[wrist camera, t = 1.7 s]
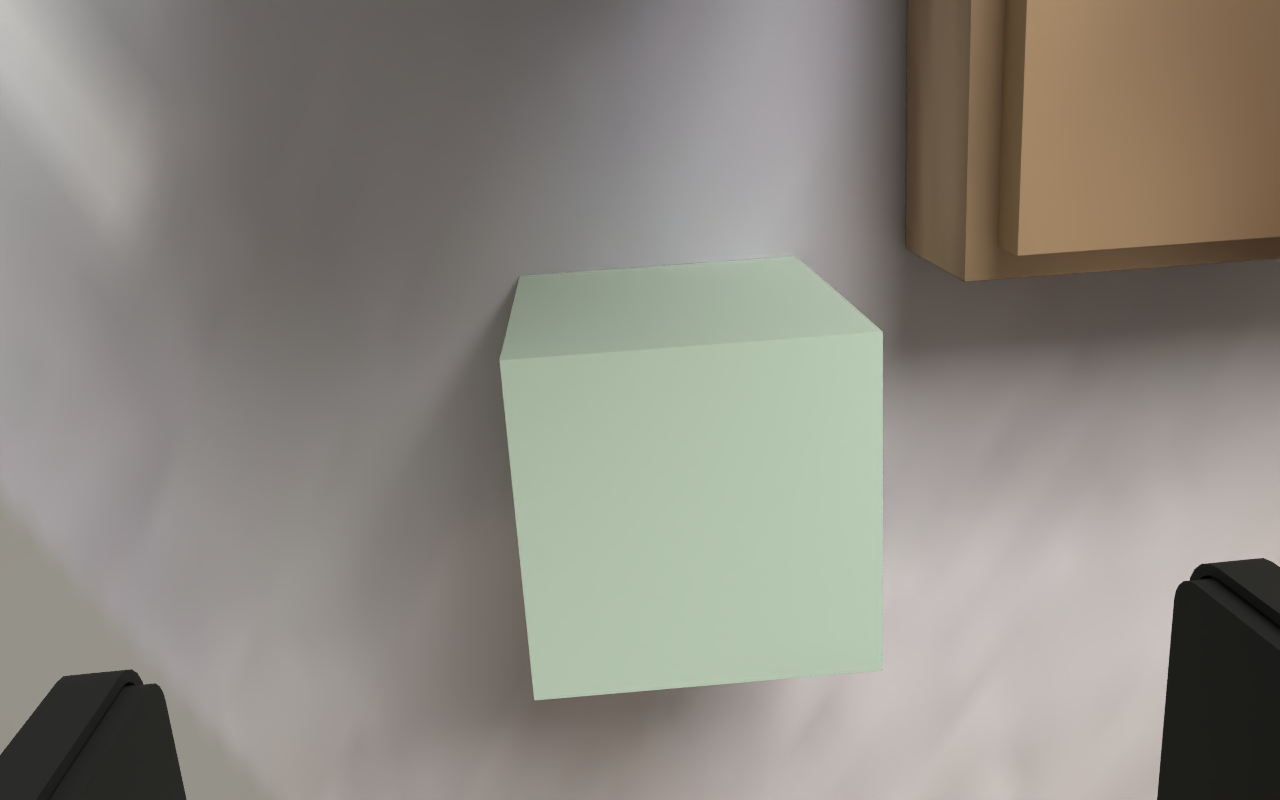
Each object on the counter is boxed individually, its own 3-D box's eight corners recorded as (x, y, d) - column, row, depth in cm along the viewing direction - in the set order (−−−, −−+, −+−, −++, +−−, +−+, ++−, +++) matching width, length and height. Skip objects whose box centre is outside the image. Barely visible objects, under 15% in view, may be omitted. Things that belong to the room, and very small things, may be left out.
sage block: (795, 255, 20) (882, 331, 15) (800, 509, 22) (882, 670, 16) (519, 274, 20) (499, 360, 14) (544, 531, 22) (534, 701, 16)
